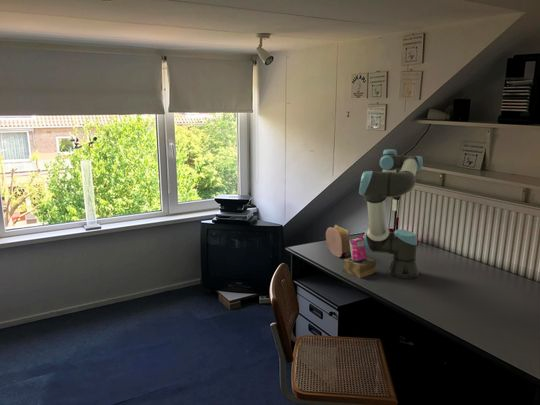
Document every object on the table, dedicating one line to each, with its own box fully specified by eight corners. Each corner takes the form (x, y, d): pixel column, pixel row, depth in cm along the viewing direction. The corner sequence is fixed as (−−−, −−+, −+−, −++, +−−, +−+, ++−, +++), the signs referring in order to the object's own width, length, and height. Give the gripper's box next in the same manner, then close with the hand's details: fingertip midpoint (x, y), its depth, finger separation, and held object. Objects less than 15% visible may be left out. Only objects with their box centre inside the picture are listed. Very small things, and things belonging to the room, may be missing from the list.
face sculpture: (351, 258, 260) (352, 231, 257) (341, 260, 258) (342, 232, 254) (332, 248, 278) (333, 223, 274) (323, 250, 275) (323, 224, 271)
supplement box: (351, 260, 239) (348, 239, 239) (360, 259, 242) (357, 238, 242) (358, 261, 234) (355, 240, 234) (367, 259, 237) (364, 238, 237)
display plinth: (375, 272, 238) (375, 260, 237) (359, 278, 231) (360, 265, 230) (358, 266, 248) (359, 255, 246) (343, 271, 241) (343, 259, 239)
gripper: (397, 173, 264) (395, 207, 269) (369, 177, 250) (367, 214, 255) (407, 175, 258) (405, 210, 263) (379, 179, 244) (377, 216, 249)
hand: (386, 212), depth 259 cm, fingers open, 13 cm apart
